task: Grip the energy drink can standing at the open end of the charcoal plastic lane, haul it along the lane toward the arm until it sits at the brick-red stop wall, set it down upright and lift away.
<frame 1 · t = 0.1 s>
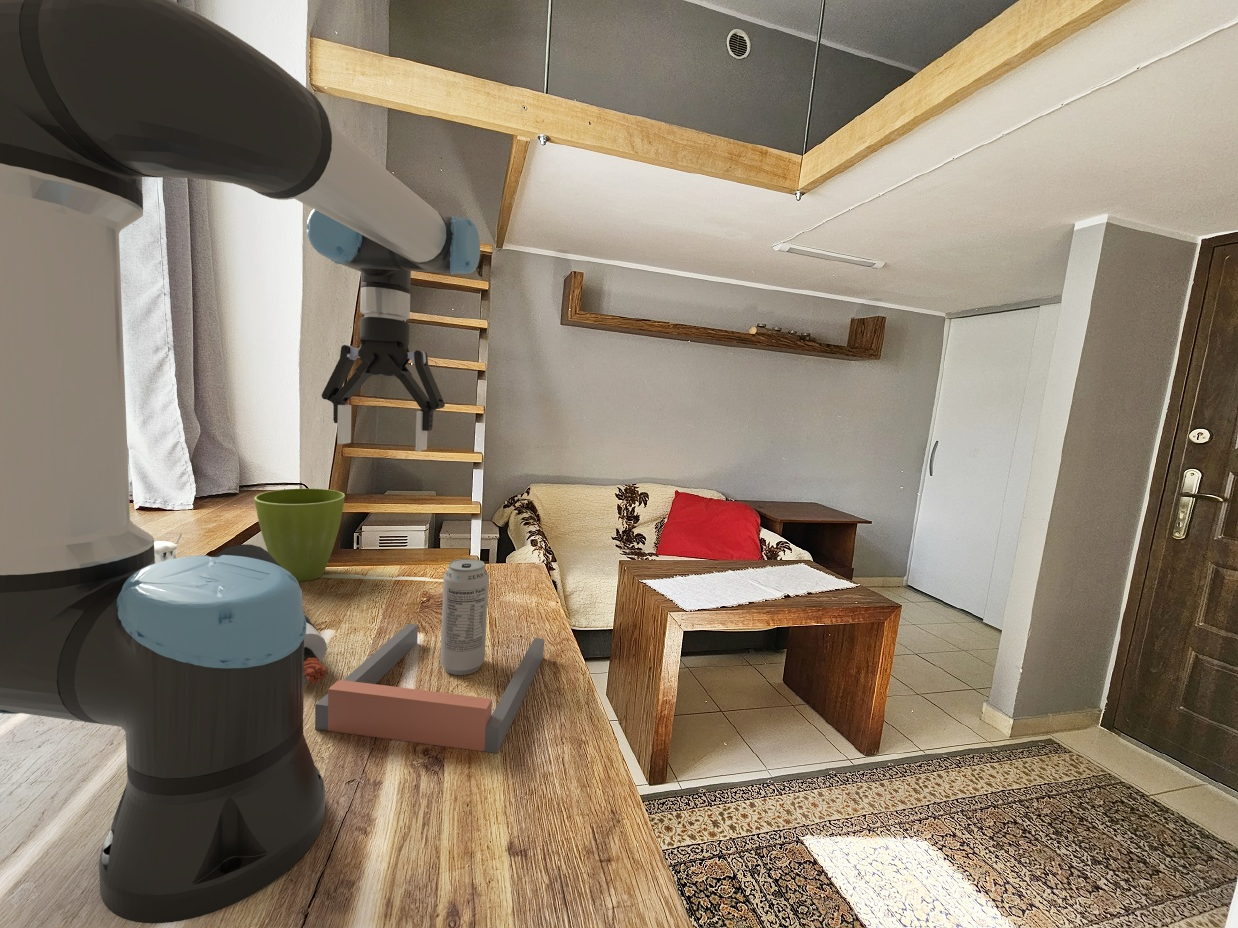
hand: (382, 446, 92), 28 cm above the table, tool pointing down, fingers open, 13 cm apart
milkshake: (163, 594, 93), on the table
guide lane: (445, 688, 71), on the table
cable: (272, 645, 79), on the table
energy drink can: (462, 667, 77), on the table
flower pot: (301, 576, 106), on the table
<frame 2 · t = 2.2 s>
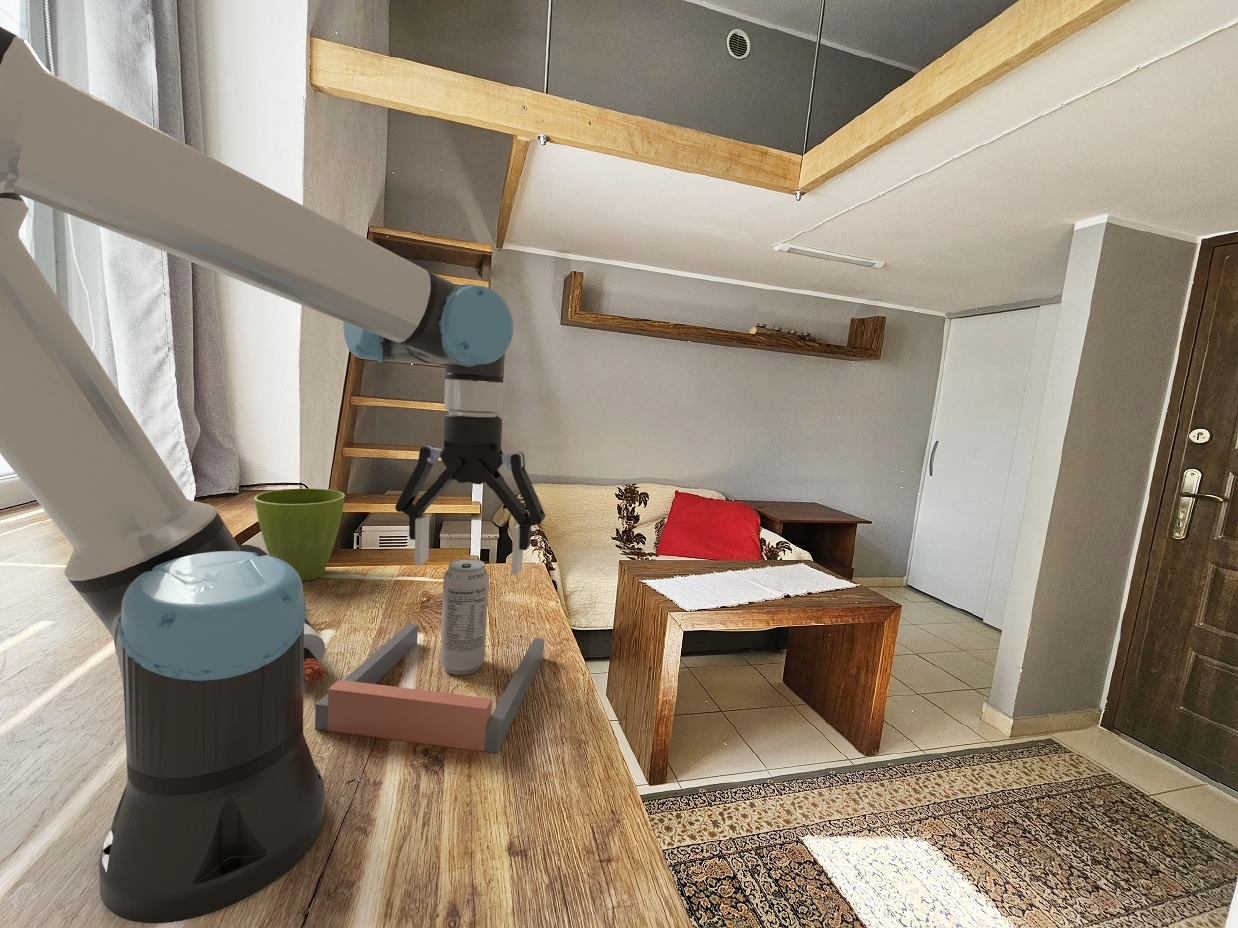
hand: (468, 567, 75), 14 cm above the table, tool pointing down, fingers open, 13 cm apart
nothing on the table moved.
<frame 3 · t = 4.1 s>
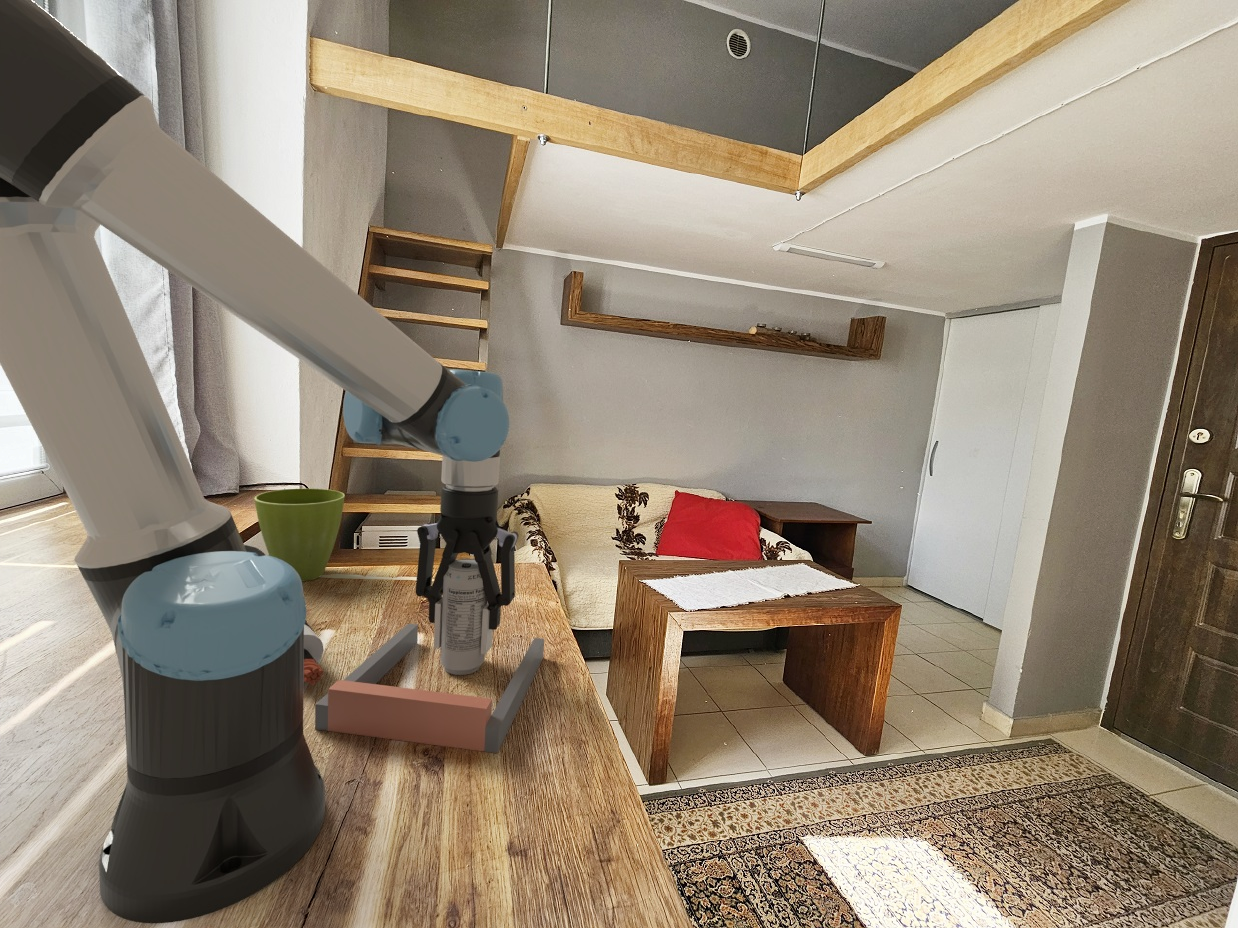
hand: (463, 646, 76), 3 cm above the table, tool pointing down, fingers closed on energy drink can, 6 cm apart
energy drink can: (462, 667, 77), on the table, touching gripper
everything else where it was.
when the fingers open (4 cm above the table, at t = 8.1 s): energy drink can stays where it is, on the table.
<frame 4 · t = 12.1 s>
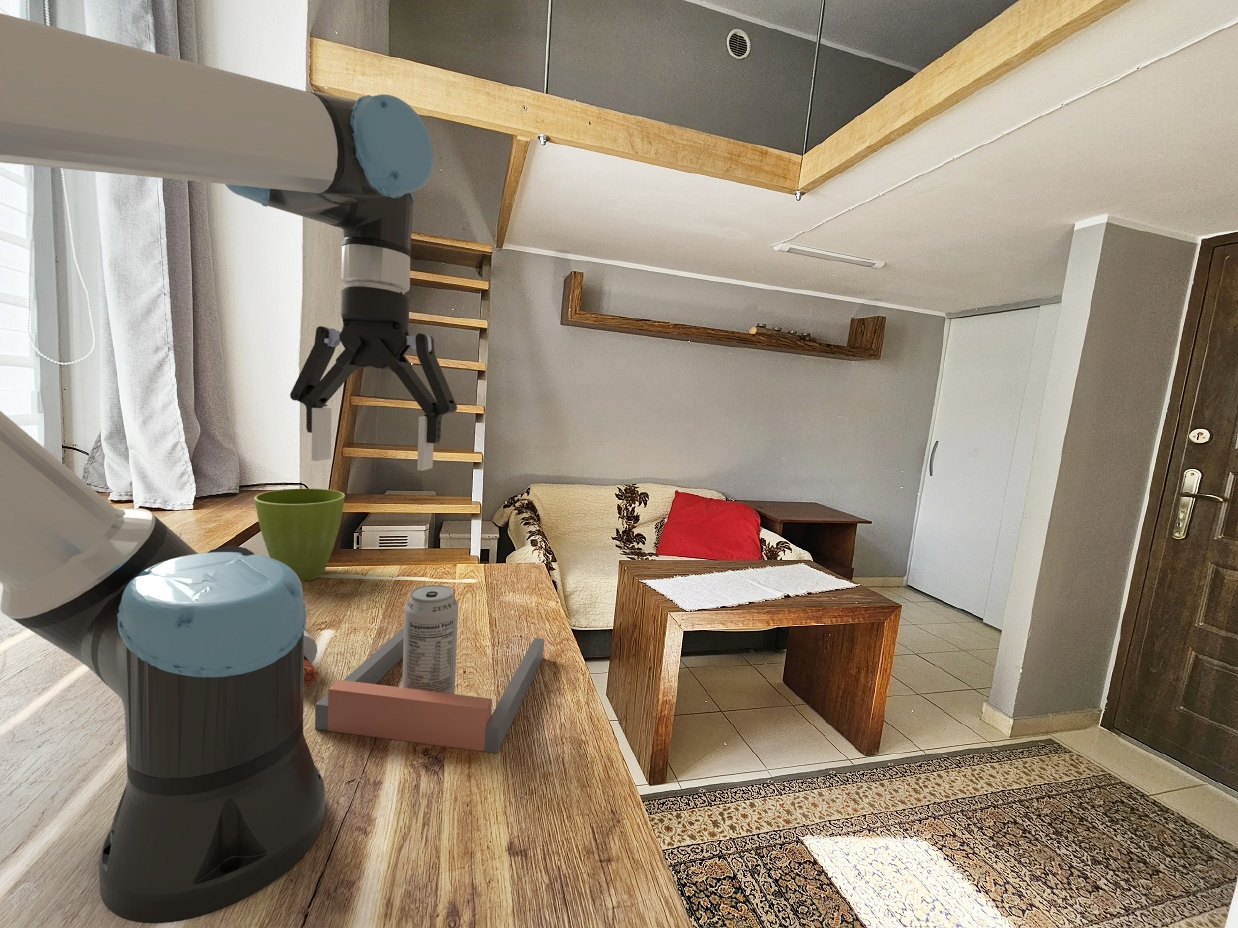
hand: (372, 464, 68), 29 cm above the table, tool pointing down, fingers open, 13 cm apart
cable: (260, 648, 78), on the table
energy drink can: (428, 711, 66), on the table
everything else where it was.
at the end: energy drink can 0.1 cm from the target spot, on the table; energy drink can tilted 0°; the gripper is holding nothing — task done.
